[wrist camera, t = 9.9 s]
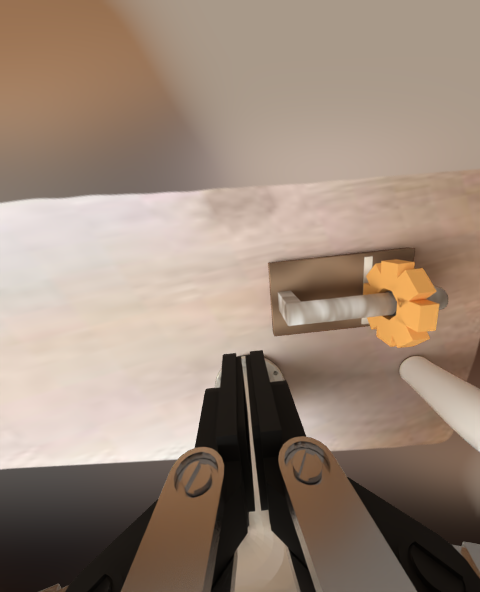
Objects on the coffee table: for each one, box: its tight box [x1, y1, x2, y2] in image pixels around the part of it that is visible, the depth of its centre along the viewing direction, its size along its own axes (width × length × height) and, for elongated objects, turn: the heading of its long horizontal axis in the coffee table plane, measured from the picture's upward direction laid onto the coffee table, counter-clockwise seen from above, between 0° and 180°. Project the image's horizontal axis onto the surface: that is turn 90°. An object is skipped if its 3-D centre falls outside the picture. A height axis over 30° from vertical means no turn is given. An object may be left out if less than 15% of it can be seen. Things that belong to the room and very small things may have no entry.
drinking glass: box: [399, 356, 480, 452], centre depth 34 cm, size 7×7×15 cm
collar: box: [363, 259, 439, 348], centre depth 30 cm, size 11×2×11 cm, turn 6°
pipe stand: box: [268, 248, 448, 336], centre depth 32 cm, size 12×22×9 cm, turn 96°
